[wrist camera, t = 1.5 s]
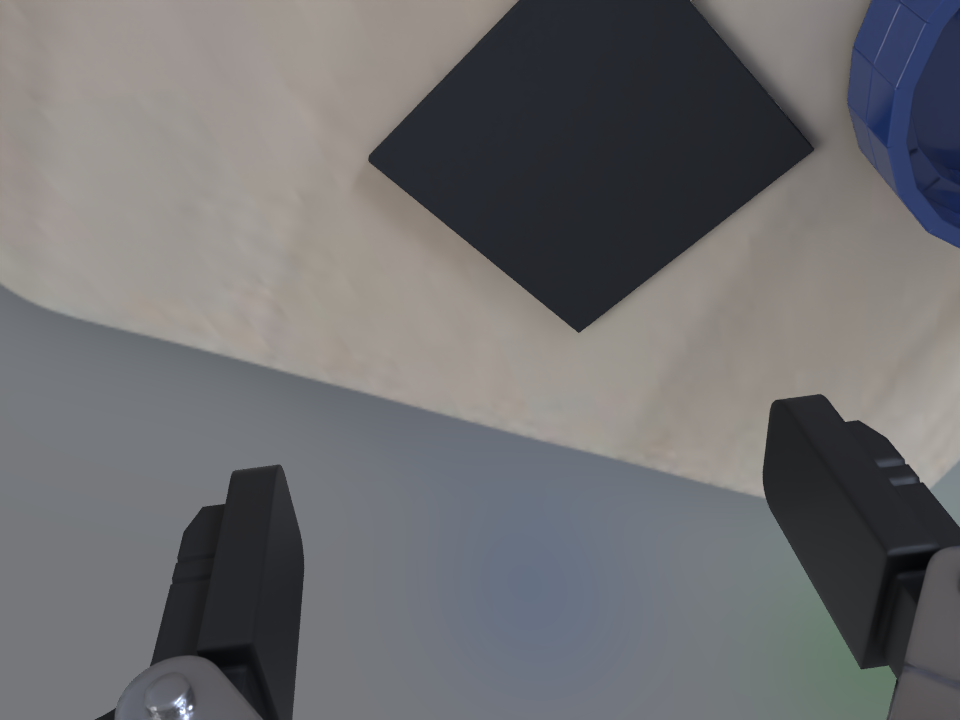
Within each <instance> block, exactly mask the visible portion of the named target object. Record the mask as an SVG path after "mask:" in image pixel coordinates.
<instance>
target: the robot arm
mask: <svg viewBox="0 0 960 720" xmlns="http://www.w3.org/2000/svg"><path fill="white" fill-rule="evenodd" d="M763 486H764V492H765V496H766V500H767V503H768V505H769V508H770V510H771V512H772V513H773V515H774V517H775V519H776V520H777V522H778V524H779V526H780V528H781V529H782V531H783V533H784V535H785V536H786V538H787V539H788V542H789V543H790V545H791V547H792V549H793V550H794V552H795V554H796V556H797V557H798V559H799V561H800V563H801V565H802V566H803V568H804V570H805V571H806V573H807V575H808V577H809V579H810V580H811V582H812V584H813V586H814V587H815V589H816V591H817V593H818V594H819V596H820V598H821V600H822V601H823V603H824V605H825V607H826V609H827V610H828V612H829V614H830V616H831V617H832V619H833V621H834V623H835V624H836V626H837V628H838V630H839V631H840V633H841V635H842V637H843V638H844V640H845V642H846V644H847V645H848V647H849V649H850V651H851V652H852V654H853V656H854V658H855V660H856V661H857V663H858V665H859V667H860V668H861V669H867V668H874V667H880V666H887V665H889V667H890V668H891V670H892V672H893V673H894V674H895V676H896V678H897V680H896V684H895V688H894V692H893V695H892V699H891V703H890V708H889V712H888V716H887V720H960V527H959V526H958V525H957V524H956V522H955V521H954V520H953V519H952V517H951V516H950V515H949V514H948V513H947V511H946V510H945V509H944V508H943V506H942V505H941V504H940V503H939V501H938V500H937V499H936V498H935V497H934V495H933V494H932V493H931V492H930V490H929V489H928V488H927V487H926V485H925V484H924V483H923V482H922V483H920V481H919V477H918V476H917V474H916V473H915V472H914V471H913V470H912V468H911V467H910V466H909V465H908V464H907V465H906V464H905V460H904V458H903V457H902V456H901V455H900V454H899V452H898V451H897V450H896V449H895V447H894V446H893V445H892V444H891V442H890V441H889V440H888V439H887V438H886V437H884V436H883V435H881V434H880V433H878V432H877V431H875V430H873V429H872V428H870V427H869V426H867V425H865V424H864V423H862V422H861V421H859V420H857V421H849V422H845V421H844V420H843V419H842V417H841V416H840V415H839V414H838V412H837V411H836V410H835V408H834V407H833V406H832V404H831V403H830V402H829V400H828V399H827V398H826V397H825V396H823V395H821V394H817V395H810V396H802V397H795V398H787V399H780V400H775V401H774V402H773V403H772V405H771V409H770V415H769V423H768V432H767V440H766V449H765V457H764V466H763ZM177 559H178V563H176V565H175V569H174V573H173V577H172V582H173V584H172V585H171V586H170V589H169V593H168V598H167V601H166V605H165V610H164V614H163V617H162V622H161V626H160V630H159V634H158V638H157V642H156V646H155V650H154V654H153V658H152V662H151V665H150V667H149V668H147V669H146V670H145V671H143V672H142V673H141V674H139V675H138V676H137V677H136V678H135V679H134V680H133V681H131V683H130V684H129V685H128V686H127V687H126V689H125V690H124V692H123V694H122V695H121V697H120V699H119V701H118V704H117V706H116V708H115V709H114V710H112V711H110V712H109V713H107V714H105V715H104V716H101V717H99V718H97V719H95V720H292V715H293V703H294V691H295V678H296V666H297V653H298V640H299V629H300V616H301V604H302V590H303V577H304V555H303V545H302V539H301V534H300V530H299V526H298V523H297V519H296V515H295V511H294V507H293V504H292V500H291V496H290V492H289V488H288V485H287V481H286V477H285V474H284V471H283V468H282V466H281V465H273V466H265V467H257V468H250V469H243V470H235V471H233V473H232V475H231V479H230V484H229V489H228V494H227V499H226V504H222V505H214V506H207V507H202V509H201V510H200V511H199V513H198V514H197V515H196V517H195V518H194V519H193V520H192V522H191V523H190V524H189V526H188V527H187V528H186V530H185V531H184V533H183V537H182V541H181V546H180V549H179V554H178V558H177Z"/></svg>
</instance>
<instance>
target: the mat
mask: <svg viewBox="0 0 960 720" xmlns="http://www.w3.org/2000/svg"><path fill="white" fill-rule="evenodd" d="M812 151H814V148H813V147H812V145H811V144H810V143H809V142H808V141H807V139H806V138H805V137H804V136H803V135H802V133H801V132H800V131H799V130H798V129H797V128H796V126H795V125H794V124H793V123H792V122H791V120H790V119H789V118H788V117H787V116H786V114H785V113H784V112H783V111H782V110H781V109H780V107H779V106H778V105H777V104H776V103H775V101H774V100H773V99H772V98H771V97H770V96H769V94H768V93H767V92H766V91H765V90H764V88H763V87H762V86H761V85H760V84H759V83H758V81H757V80H756V79H755V78H754V77H753V75H752V74H751V73H750V72H749V71H748V70H747V68H746V67H745V66H744V65H743V64H742V62H741V61H740V60H739V59H738V58H737V56H736V55H735V54H734V53H733V52H732V51H731V49H730V48H729V47H728V46H727V45H726V43H725V42H724V41H723V40H722V39H721V38H720V36H719V35H718V34H717V33H716V32H715V30H714V29H713V28H712V27H711V26H710V25H709V23H708V22H707V21H706V20H705V19H704V17H703V16H702V15H701V14H700V13H699V12H698V10H697V9H696V8H695V7H694V6H693V4H692V3H691V2H690V1H689V0H519V1H518V2H517V3H516V4H515V5H514V6H513V7H512V8H511V9H510V10H509V11H508V12H507V13H506V14H505V15H504V17H503V18H502V19H501V20H500V21H499V22H498V23H497V24H496V25H495V26H494V27H493V28H492V29H491V30H490V31H489V32H488V33H487V34H486V35H485V36H484V37H483V38H482V39H481V40H480V41H479V42H478V43H477V44H476V45H475V47H474V48H473V49H472V50H471V51H470V52H469V53H468V54H467V55H466V56H465V57H464V58H463V59H462V60H461V61H460V62H459V63H458V64H457V65H456V66H455V67H454V68H453V69H452V70H451V71H450V72H449V73H448V74H447V75H446V77H445V78H444V79H443V80H442V81H441V82H440V83H439V84H438V85H437V86H436V87H435V88H434V89H433V90H432V91H431V92H430V93H429V94H428V95H427V96H426V97H425V98H424V99H423V100H422V101H421V102H420V103H419V104H418V105H417V107H416V108H415V109H414V110H413V111H412V112H411V113H410V114H409V115H408V116H407V117H406V118H405V119H404V120H403V121H402V122H401V123H400V124H399V125H398V126H397V127H396V128H395V129H394V130H393V131H392V132H391V133H390V134H389V135H388V137H387V138H386V139H385V140H384V141H383V142H382V143H381V144H380V145H379V146H378V147H377V148H376V149H375V150H374V151H373V152H372V153H371V154H370V155H369V160H368V161H369V162H370V163H371V164H372V165H374V166H375V167H376V168H377V169H379V170H380V171H381V172H382V173H384V174H385V175H386V176H387V177H388V178H390V179H391V180H392V181H393V182H395V183H396V184H397V185H398V186H399V187H401V188H402V189H403V190H404V191H406V192H407V193H408V194H409V195H410V196H412V197H413V198H414V199H415V200H417V201H418V202H419V203H420V204H421V205H423V206H424V207H425V208H426V209H428V210H429V211H430V212H431V213H433V214H434V215H435V216H436V217H437V218H439V219H440V220H441V221H442V222H444V223H445V224H446V225H447V226H448V227H450V228H451V229H452V230H453V231H455V232H456V233H457V234H458V235H459V236H461V237H462V238H463V239H464V240H466V241H467V242H468V243H469V244H470V245H472V246H473V247H474V248H475V249H477V250H478V251H479V252H480V253H481V254H483V255H484V256H485V257H486V258H488V259H489V260H490V261H491V262H493V263H494V264H495V265H496V266H497V267H499V268H500V269H501V270H502V271H504V272H505V273H506V274H507V275H508V276H510V277H511V278H512V279H513V280H515V281H516V282H517V283H518V284H519V285H521V286H522V287H523V288H524V289H526V290H527V291H528V292H529V293H530V294H532V295H533V296H534V297H535V298H537V299H538V300H539V301H540V302H541V303H543V304H544V305H545V306H546V307H548V308H549V309H550V310H551V311H553V312H554V313H555V314H556V315H557V316H559V317H560V318H561V319H562V320H564V321H565V322H566V323H567V324H568V325H570V326H571V327H572V328H573V329H575V330H576V331H577V332H578V333H579V332H581V331H582V330H583V329H584V328H586V327H587V326H588V325H590V324H591V323H592V322H593V321H595V320H596V319H597V318H599V317H600V316H601V315H603V314H604V313H605V312H606V311H608V310H609V309H610V308H612V307H613V306H614V305H615V304H617V303H618V302H619V301H621V300H622V299H623V298H624V297H626V296H627V295H628V294H630V293H631V292H632V291H633V290H635V289H636V288H637V287H639V286H640V285H641V284H642V283H644V282H645V281H646V280H648V279H649V278H650V277H651V276H653V275H654V274H655V273H657V272H658V271H659V270H660V269H662V268H663V267H664V266H666V265H667V264H668V263H669V262H671V261H672V260H673V259H675V258H676V257H677V256H678V255H680V254H681V253H682V252H684V251H685V250H686V249H687V248H689V247H690V246H691V245H693V244H694V243H695V242H696V241H698V240H699V239H700V238H702V237H703V236H704V235H705V234H707V233H708V232H709V231H711V230H712V229H713V228H714V227H716V226H717V225H718V224H720V223H721V222H722V221H724V220H725V219H726V218H727V217H729V216H730V215H731V214H733V213H734V212H735V211H736V210H738V209H739V208H740V207H742V206H743V205H744V204H745V203H747V202H748V201H749V200H751V199H752V198H753V197H754V196H756V195H757V194H758V193H760V192H761V191H762V190H763V189H765V188H766V187H767V186H769V185H770V184H771V183H772V182H774V181H775V180H776V179H778V178H779V177H780V176H781V175H783V174H784V173H785V172H787V171H788V170H789V169H790V168H792V167H793V166H794V165H796V164H797V163H798V162H799V161H801V160H802V159H803V158H805V157H806V156H807V155H808V154H810V153H811V152H812Z"/></svg>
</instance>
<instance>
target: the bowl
mask: <svg viewBox="0 0 960 720" xmlns="http://www.w3.org/2000/svg"><path fill="white" fill-rule="evenodd" d="M847 101H848V103H847V104H848V108H849V112H850V116H851V120H852V123H853V127H854V131H855V135H856V138H857V142H858V146H859V148H860V150H861V152H862V153H863V154H864V155H865V157H866V158H867V159H868V160H869V162H870V163H871V164H872V165H873V167H874V168H875V169H876V170H877V172H878V173H879V174H880V175H881V176H882V178H883V179H884V180H885V181H886V183H887V184H888V185H889V186H890V188H891V189H892V190H893V191H894V192H895V194H896V195H897V196H898V197H899V199H900V200H901V201H902V202H903V203H904V205H905V206H906V207H907V208H908V210H909V211H910V212H911V213H912V214H913V216H914V217H915V218H916V219H917V221H918V222H919V223H920V224H921V225H922V227H923V228H924V229H925V230H926V231H927V232H928V233H930V234H932V235H934V236H936V237H938V238H940V239H942V240H944V241H946V242H948V243H950V244H952V245H954V246H956V247H958V248H960V0H872V1H871V3H870V6H869V8H868V11H867V13H866V16H865V18H864V20H863V23H862V25H861V28H860V30H859V32H858V35H857V37H856V40H855V42H854V46H853V49H852V59H851V69H850V79H849V89H848V98H847Z"/></svg>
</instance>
